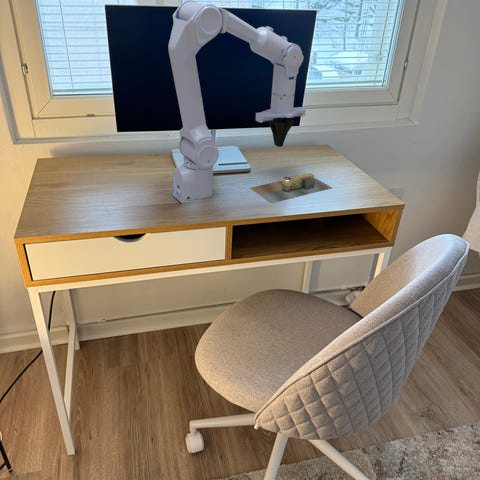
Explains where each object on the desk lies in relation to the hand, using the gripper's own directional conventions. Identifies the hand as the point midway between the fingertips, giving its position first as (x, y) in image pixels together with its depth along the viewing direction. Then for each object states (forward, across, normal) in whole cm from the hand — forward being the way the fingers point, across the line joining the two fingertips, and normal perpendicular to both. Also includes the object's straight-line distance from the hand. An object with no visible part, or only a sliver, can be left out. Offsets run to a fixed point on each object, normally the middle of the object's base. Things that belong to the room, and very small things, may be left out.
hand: (278, 145), depth 123 cm
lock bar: (+8, 0, -9) cm, 12 cm away
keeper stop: (+9, +3, -11) cm, 14 cm away
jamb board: (+10, -1, -8) cm, 13 cm away
